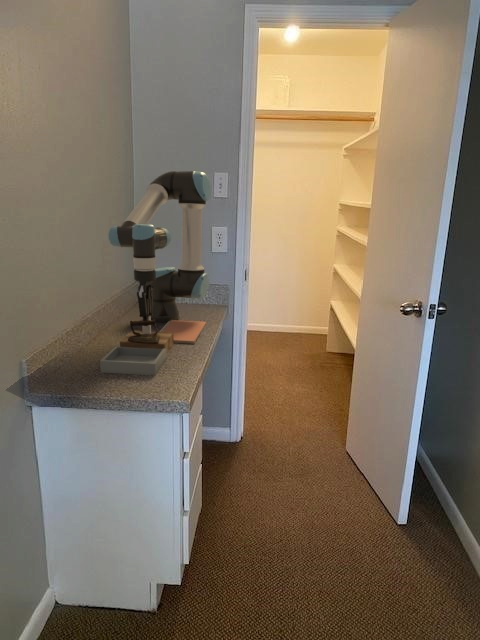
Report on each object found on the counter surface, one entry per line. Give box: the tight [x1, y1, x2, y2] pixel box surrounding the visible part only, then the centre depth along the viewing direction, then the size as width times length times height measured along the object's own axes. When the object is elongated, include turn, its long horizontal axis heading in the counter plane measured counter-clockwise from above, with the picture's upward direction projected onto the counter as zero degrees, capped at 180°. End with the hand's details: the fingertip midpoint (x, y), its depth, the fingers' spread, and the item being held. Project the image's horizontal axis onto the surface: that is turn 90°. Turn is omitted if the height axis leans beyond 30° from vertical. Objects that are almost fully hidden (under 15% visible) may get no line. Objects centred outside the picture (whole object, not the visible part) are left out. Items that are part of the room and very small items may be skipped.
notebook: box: [158, 319, 207, 345], centre depth 187 cm, size 27×17×2 cm, turn 174°
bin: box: [99, 345, 168, 376], centre depth 151 cm, size 16×18×4 cm
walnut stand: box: [119, 330, 175, 355], centre depth 166 cm, size 14×16×5 cm
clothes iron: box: [128, 319, 160, 344], centre depth 159 cm, size 7×11×10 cm, turn 96°
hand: (146, 333), depth 164 cm, fingers closed
